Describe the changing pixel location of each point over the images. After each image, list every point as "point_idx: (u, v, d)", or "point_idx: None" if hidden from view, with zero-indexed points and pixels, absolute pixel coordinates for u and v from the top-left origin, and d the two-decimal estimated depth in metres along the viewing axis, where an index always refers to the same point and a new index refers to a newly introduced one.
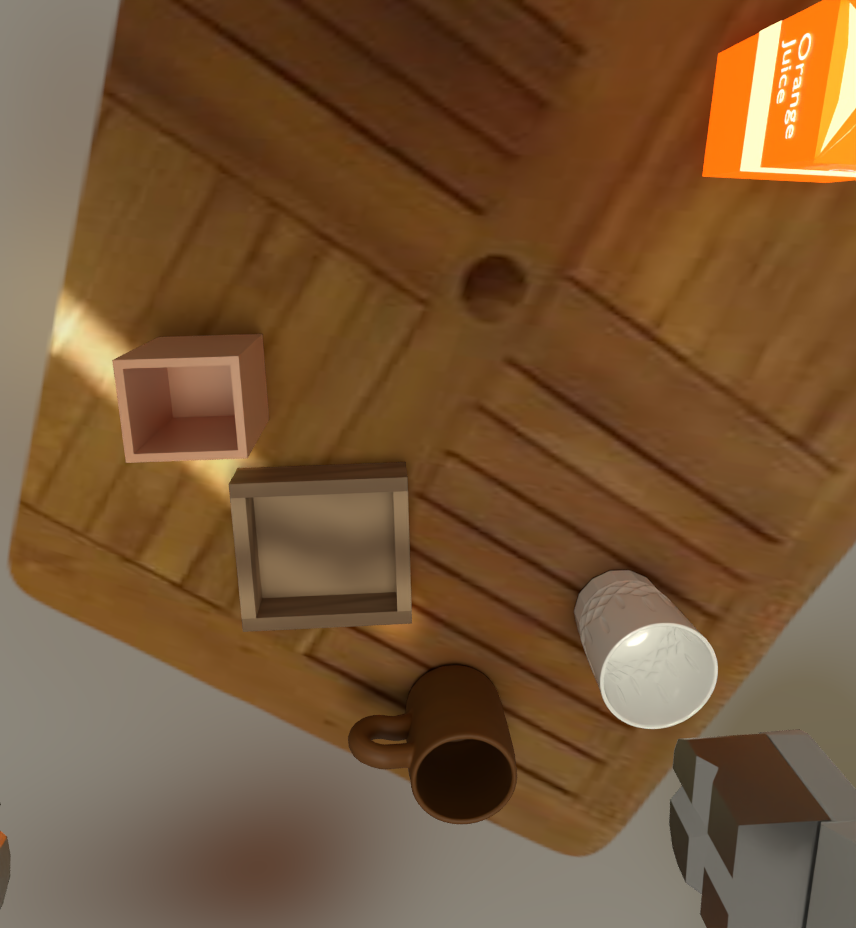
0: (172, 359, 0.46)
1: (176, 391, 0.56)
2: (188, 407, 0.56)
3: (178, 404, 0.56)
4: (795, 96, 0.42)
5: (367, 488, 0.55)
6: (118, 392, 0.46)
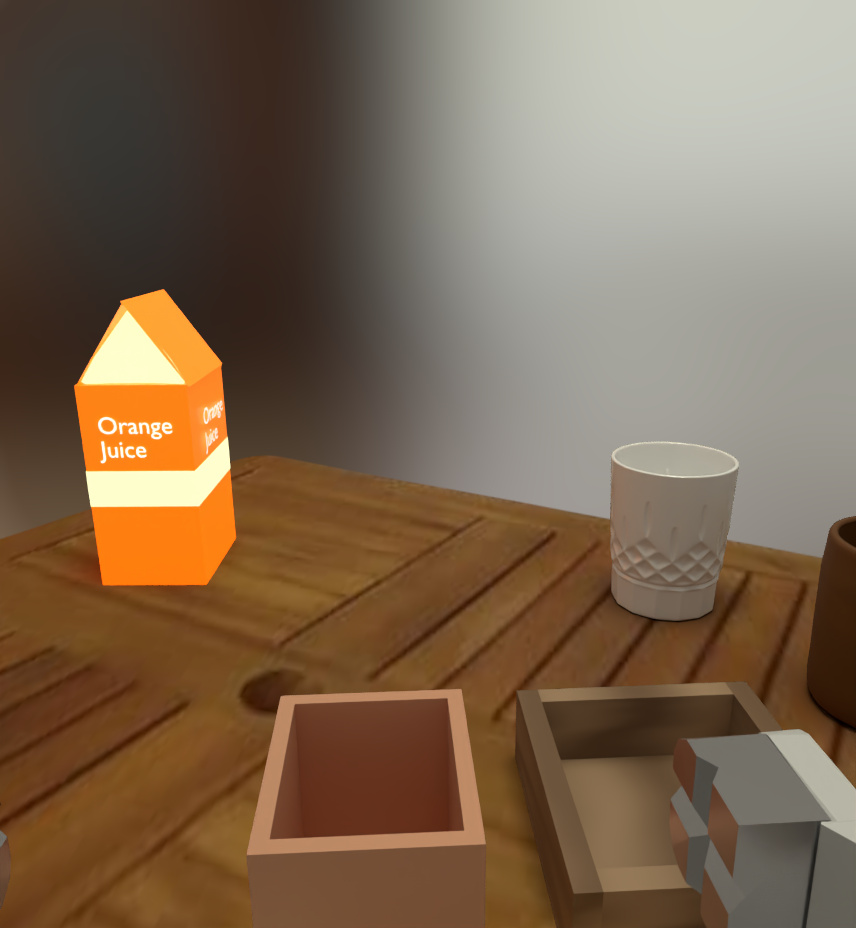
0: (267, 768, 0.23)
1: None
2: None
3: None
4: (142, 429, 0.55)
5: (542, 724, 0.36)
6: (321, 849, 0.20)
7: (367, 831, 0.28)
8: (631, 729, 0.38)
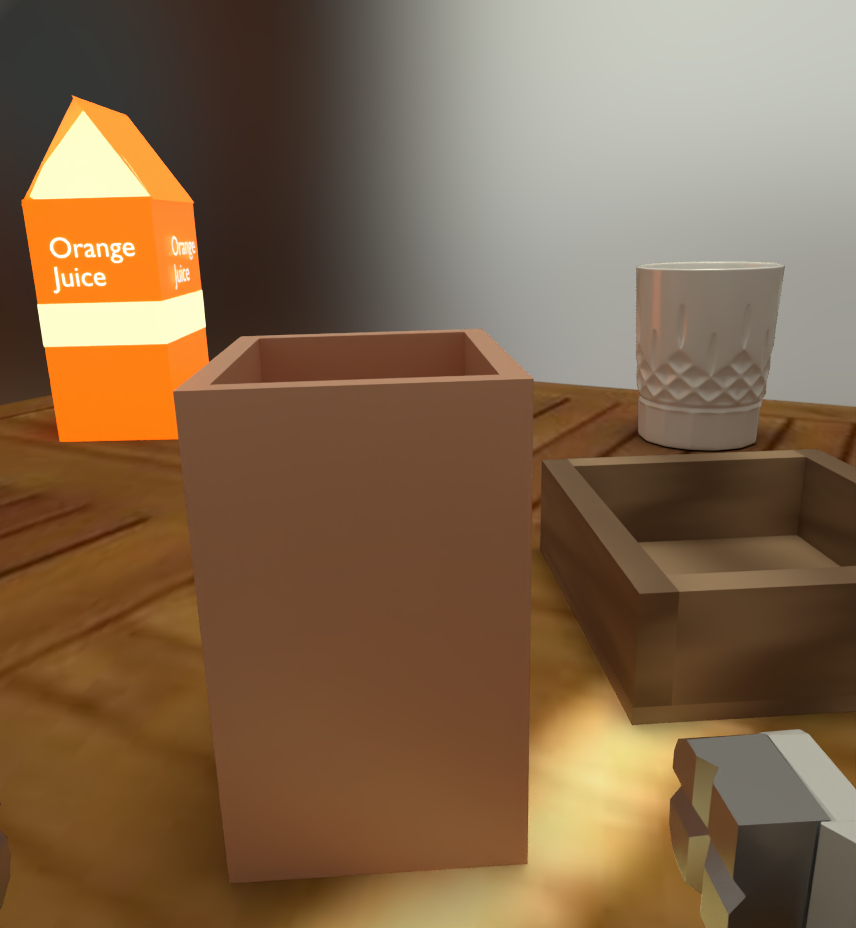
0: (215, 359, 0.17)
1: None
2: None
3: None
4: (100, 251, 0.48)
5: (576, 480, 0.29)
6: (286, 387, 0.14)
7: None
8: (682, 503, 0.31)
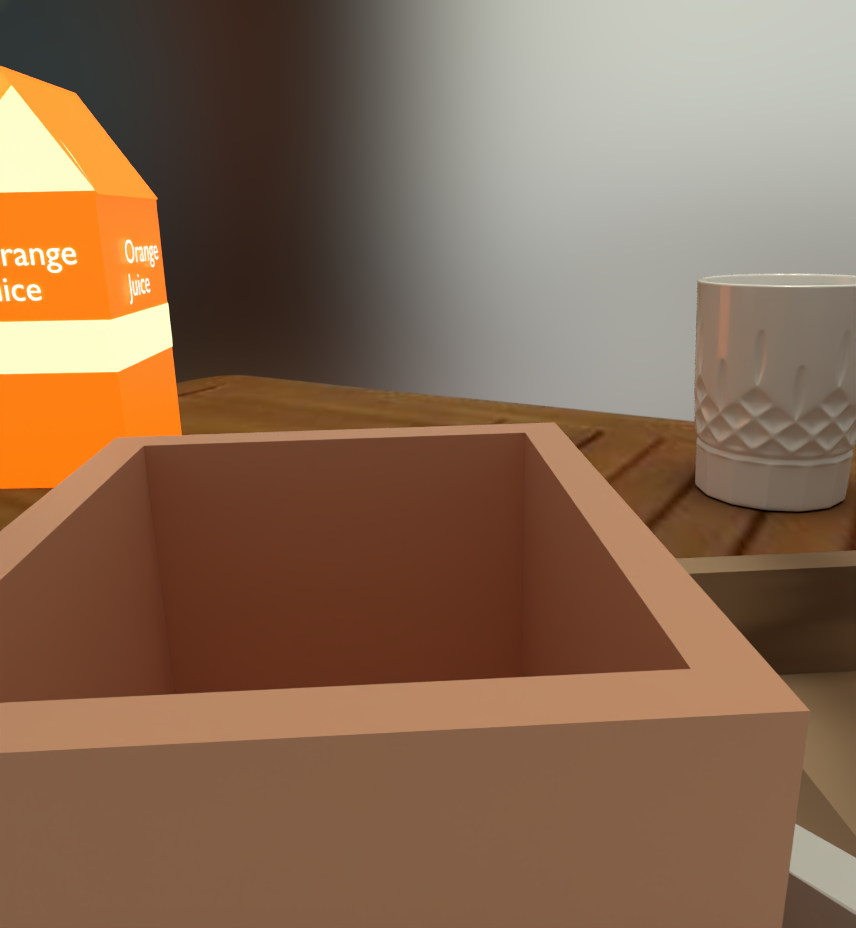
0: None
1: None
2: None
3: None
4: (34, 258, 0.39)
5: None
6: (69, 743, 0.04)
7: None
8: (801, 625, 0.22)
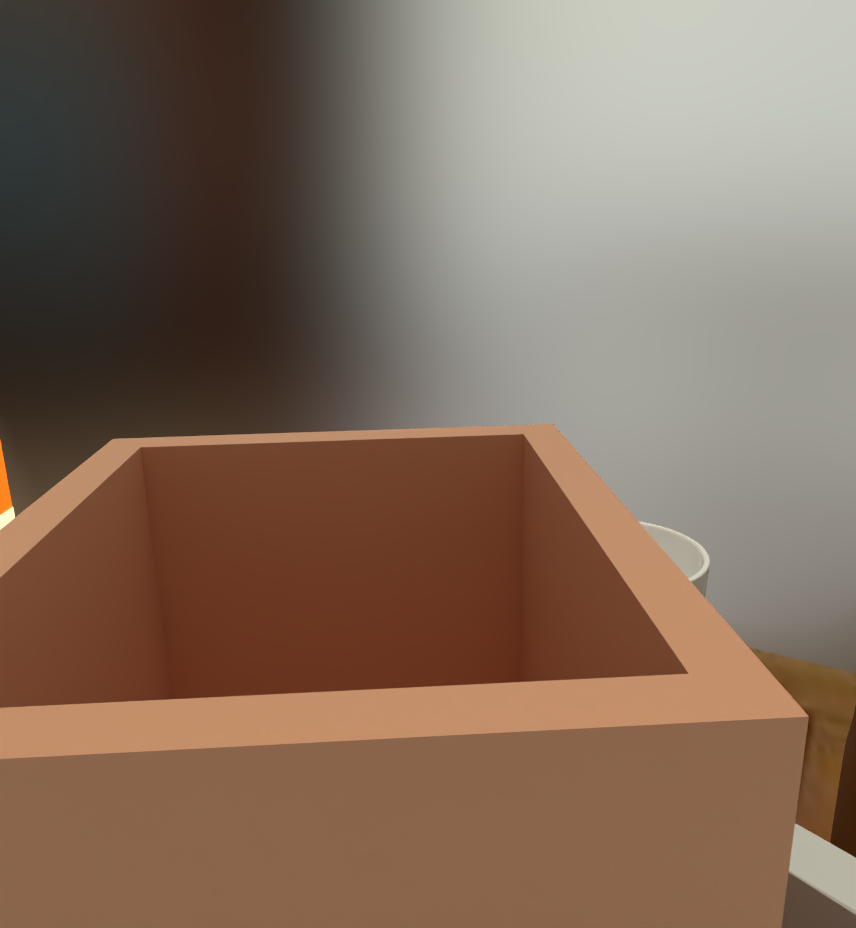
0: None
1: None
2: None
3: None
4: None
5: None
6: (60, 749, 0.04)
7: None
8: None
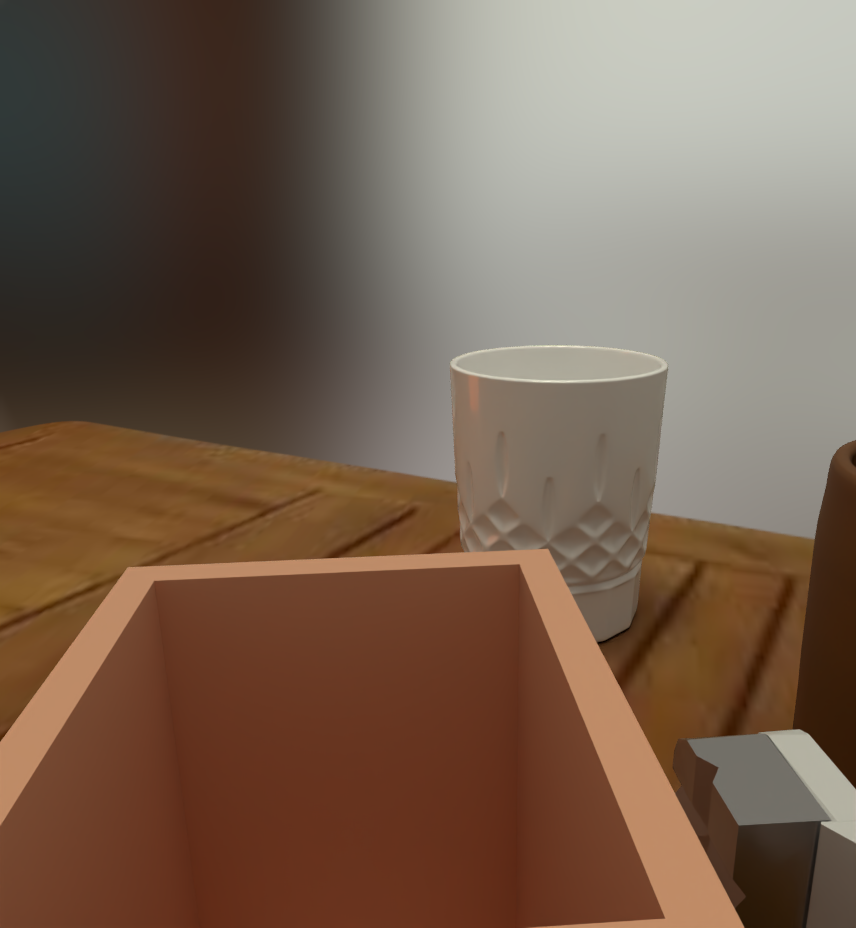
0: (22, 719, 0.08)
1: None
2: None
3: None
4: None
5: None
6: None
7: (337, 880, 0.13)
8: None
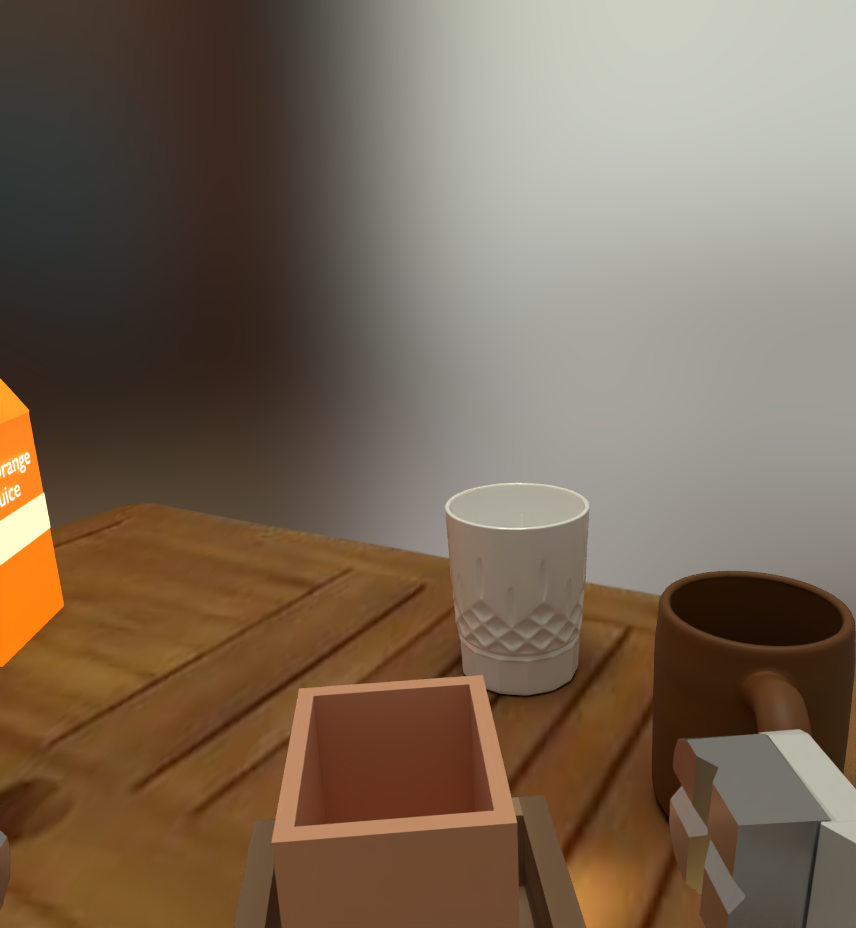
0: (288, 758, 0.23)
1: None
2: None
3: None
4: None
5: (263, 873, 0.28)
6: (347, 834, 0.20)
7: None
8: None
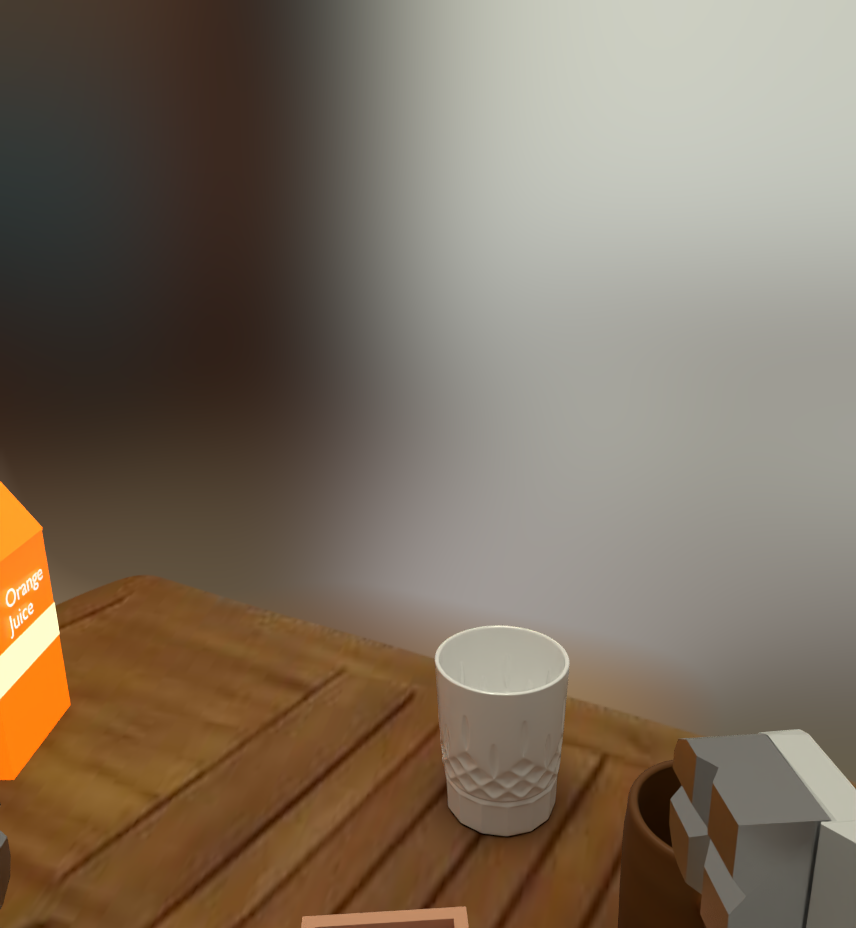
0: None
1: None
2: None
3: None
4: None
5: None
6: None
7: None
8: None
